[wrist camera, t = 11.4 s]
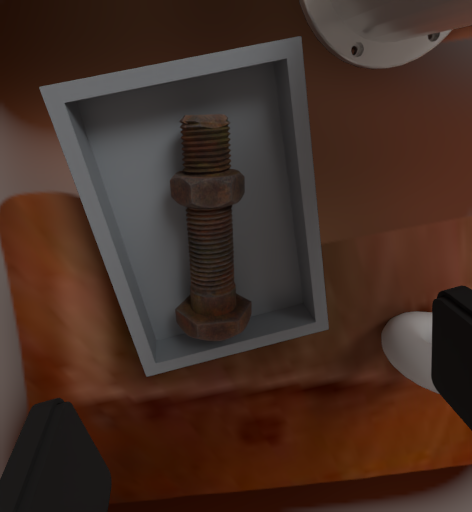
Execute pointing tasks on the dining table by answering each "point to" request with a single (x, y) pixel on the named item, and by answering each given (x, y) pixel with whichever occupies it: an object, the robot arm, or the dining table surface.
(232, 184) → the bolt
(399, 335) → the donut
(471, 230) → the dining table surface
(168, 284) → the bin
